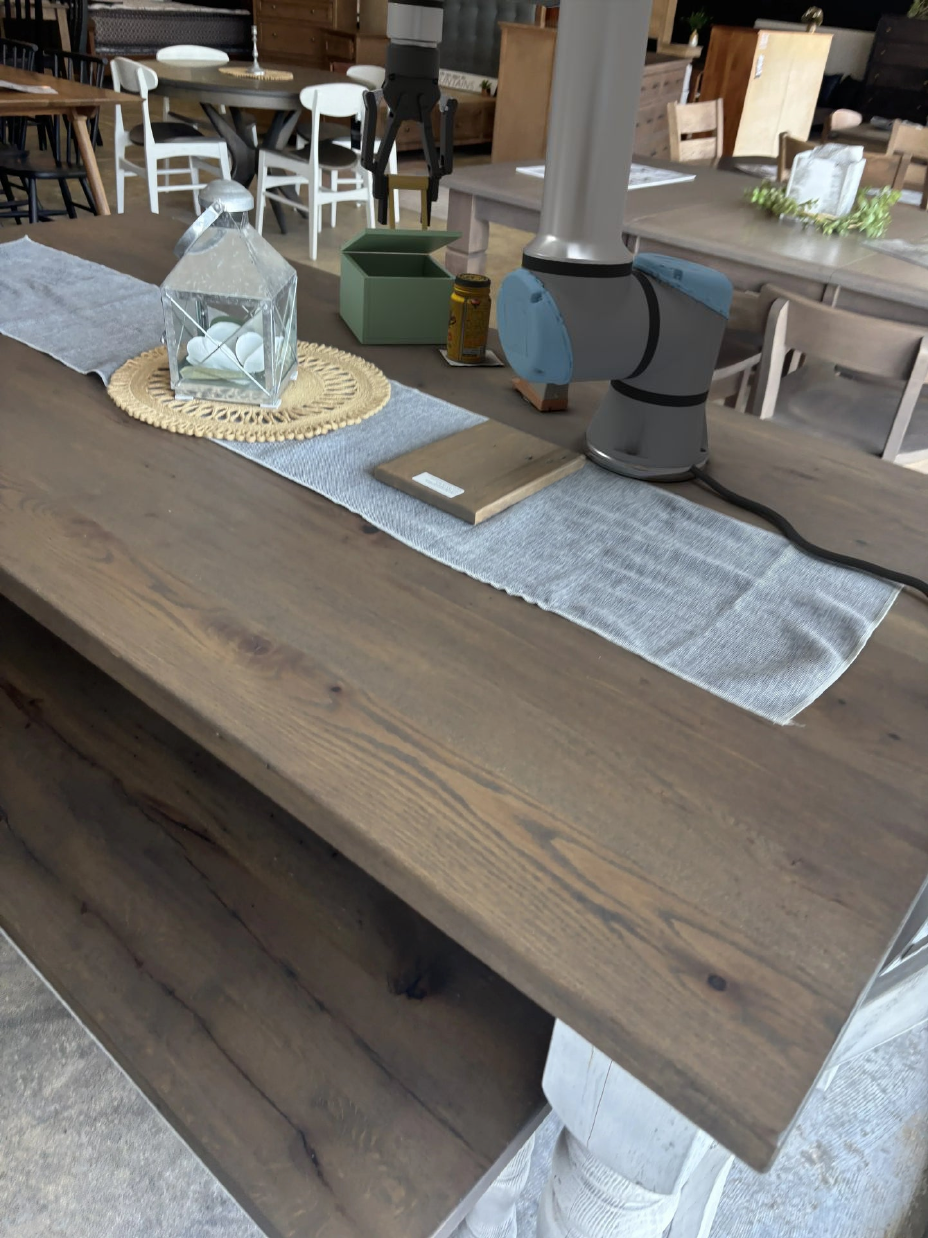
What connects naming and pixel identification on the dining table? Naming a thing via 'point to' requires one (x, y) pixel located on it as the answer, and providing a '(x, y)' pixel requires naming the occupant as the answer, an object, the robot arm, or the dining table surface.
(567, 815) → the dining table surface
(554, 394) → the electronic device
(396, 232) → the lid
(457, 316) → the condiment
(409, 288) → the chest
